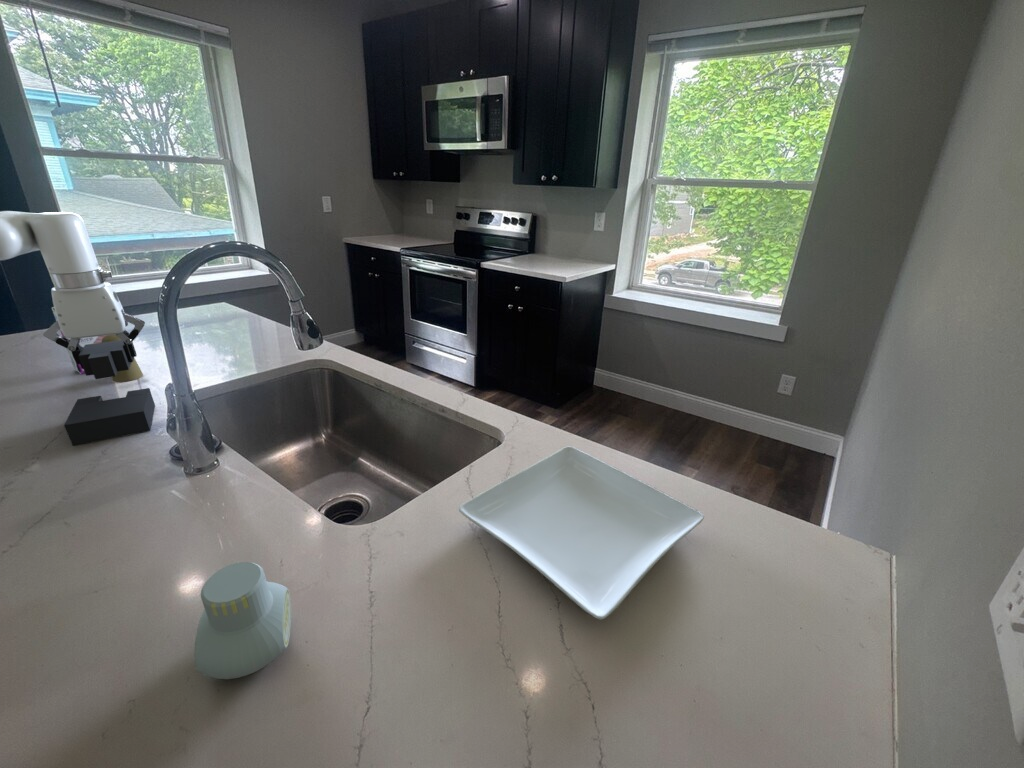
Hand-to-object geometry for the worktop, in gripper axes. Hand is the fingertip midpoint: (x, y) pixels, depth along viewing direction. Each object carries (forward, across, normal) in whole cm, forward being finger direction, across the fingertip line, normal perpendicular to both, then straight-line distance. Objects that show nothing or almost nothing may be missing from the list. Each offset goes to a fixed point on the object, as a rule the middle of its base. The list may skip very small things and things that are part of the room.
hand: (108, 362), depth 99 cm
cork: (+10, +1, -17) cm, 20 cm away
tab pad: (+1, 0, +1) cm, 2 cm away
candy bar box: (+10, +7, -28) cm, 31 cm away
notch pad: (+10, 0, +10) cm, 14 cm away
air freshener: (+10, -20, +77) cm, 80 cm away
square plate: (+11, -65, +80) cm, 103 cm away
